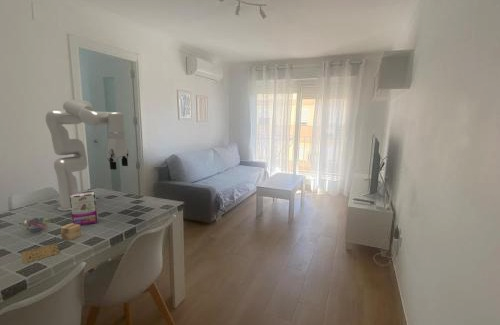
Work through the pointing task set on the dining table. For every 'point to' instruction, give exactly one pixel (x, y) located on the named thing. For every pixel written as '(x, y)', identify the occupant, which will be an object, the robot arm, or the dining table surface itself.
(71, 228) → the oak block
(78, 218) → the candy bar box
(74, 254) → the dining table surface
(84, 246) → the dining table surface
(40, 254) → the cookie
